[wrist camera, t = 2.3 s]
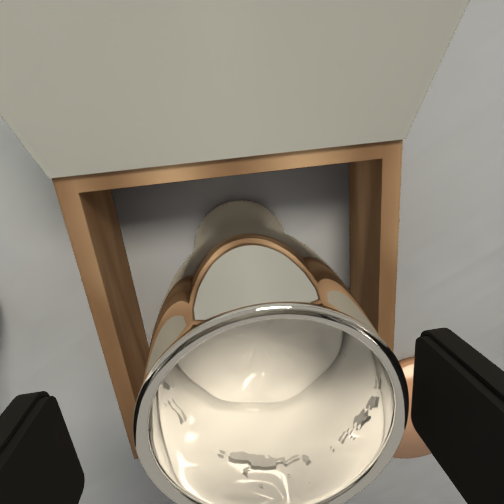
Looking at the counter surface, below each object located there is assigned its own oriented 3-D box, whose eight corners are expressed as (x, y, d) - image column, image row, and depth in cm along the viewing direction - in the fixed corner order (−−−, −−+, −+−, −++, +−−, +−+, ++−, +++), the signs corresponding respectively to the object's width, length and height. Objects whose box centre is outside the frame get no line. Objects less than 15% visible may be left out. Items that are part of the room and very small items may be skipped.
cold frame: (364, 137, 20) (402, 135, 16) (362, 374, 26) (390, 418, 22) (88, 167, 19) (50, 173, 15) (149, 405, 25) (134, 458, 21)
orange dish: (477, 347, 26) (484, 353, 25) (464, 440, 29) (470, 448, 29) (356, 364, 26) (360, 371, 25) (356, 458, 29) (360, 466, 28)
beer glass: (231, 310, 23) (247, 569, 9) (165, 237, 21) (52, 423, 7) (311, 252, 22) (465, 438, 8) (250, 170, 20) (317, 228, 6)
